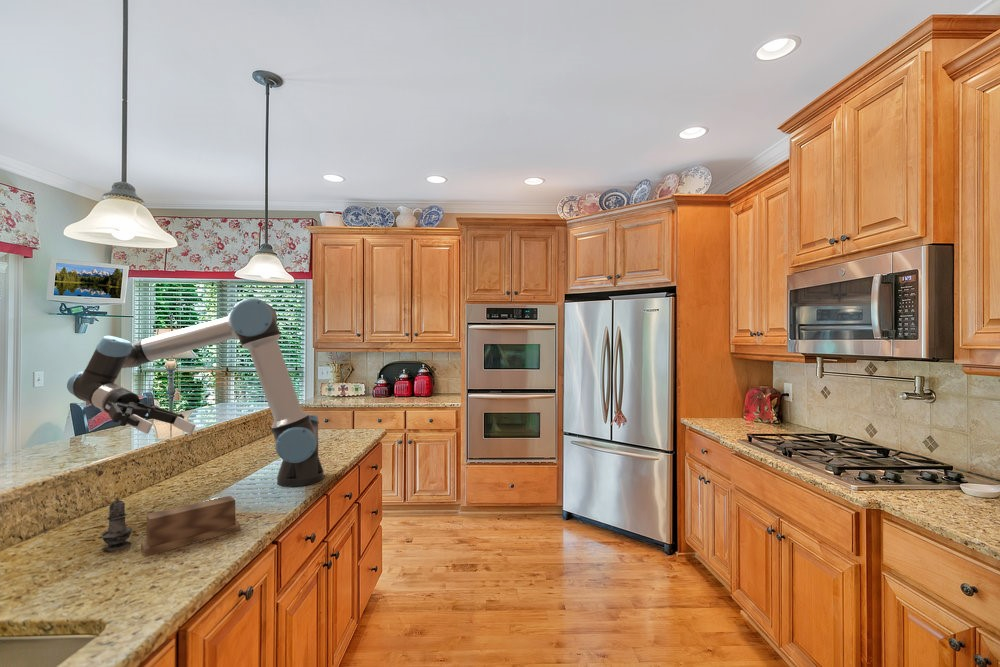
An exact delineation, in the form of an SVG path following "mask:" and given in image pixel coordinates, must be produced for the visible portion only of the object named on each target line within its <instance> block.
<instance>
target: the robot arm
mask: <svg viewBox="0 0 1000 667" xmlns="http://www.w3.org/2000/svg"><path fill="white" fill-rule="evenodd" d="M277 323H278V316H277V312H276V310H275V309H274V308H273V306H271V305H270V304H269V303H266V302H265V301H264V300H262V299H258V298H246V299H242V300H240V301H239V302H236V304H235V305H234V306H233V307H232V309H231V310H230V312H229V314H228V315H227V316H225V317H221V318H216V319H214V320H209V321H206V322H202V323H198V324H196V325H192V326H187V327H184V328H180V329H177V330H173V331H169V332H166V333H161V334H159V335H154V336H150V337H147V338H144V339H138V340H135V341H132V342H131V341H129V340H127V339H125V338H122V337H121V338H120V337H118V336H114V335H105V336H103V337H102V338H101V339H100V341H99V342H98V344H97V345H96V348H95V349H94V352H93V354H92V356H91V358H90V360H89V361H88V363H87V365H86V368H85V369H84V370H82V371H77V372H76V373H74V374H73V376H70V378H69V379H68V380H67V382H66V388H67V391H68V393H70V395H71V394H72V395H73V396H75V398H77V399H79V400H80V401H83V402H85V403H88V404H90V405H91V406H93V407H95V408H97V409H99V410H100V412H102V413H106V414H108V416H109V417H110V419H111V421H112V422H114V423H119V422H120V424H119V425H120V426H122V427H126V425H129V426H130V427H132V428H134V429H136V430H138V431H140V432H142V433H144V434H149V433H150V431H151V429H152V427H153V425H154V423H153V422H151V421H149V420H150V419H151V420H152V419H153V420H156V421H159V422H163V423H166V424H167V423H168V424H170V425H172V426H173V427H175V428H177V429H179V430H181V431H183V432H185V433H187V434H189V435H192V434H193V432H194V430H195V428H196V426H197V424H195V423H193V422H190V421H189V420H186V419H185V417H186V416H185V415H183V414H182V413H176V412H173V411H170V410H168V409H164V408H161V407H159V406H157V405H154V404H150V405H147V404H145V403H143V402H141V400H140V396H139V395H138V394H136V393H135V392H134V391H133V392H132V391H131V390H129V389H127V388H125V387H123V386H120V385H118V384H116V383H115V382H116V380H117V378H118V376H119V374H120V373H121V371H122V369H127V368H132V369H133V368H137V367H139V366H142V365H143V364H148V363H150V362H153V361H154V362H155V361H157V360H162V359H164V358H169V357H172V356H175V355H178V354H179V355H180V354H182V353H186V352H189V351H193V350H197V349H200V348H204V347H207V346H211V345H214V344H218V343H222V342H225V341H229V340H233V339H238V340H239V342H240V344H241V345H240V346H241V347H243V348H245V349H247V350H248V351H249V354H250V356H251V357H250V358H251V360H252V362H253V365H254V369H255V371H256V373H257V376H258V380H259V381H260V382H259V383H260V385H261V387H262V390H263V392H264V396H265V399H266V401H267V404H268V407H269V410H270V412H271V415H272V416H271V417H272V419H273V423H272V424H271V426H270V429H271V431H272V434H273V437H274V440H275V451H276V453H277V455H278V456H279V458H280V459H282V461H281V464H280V468H279V470H278V473H277V476H276V480H277V481H276V484H277V485H279V486H281V487H289V488H290V487H292V488H293V487H294V488H295V487H304V486H309V485H312V484H315V483H316V484H317V483H318V482H320V481H322V480H323V479H324V475H325V474H324V469H323V466H322V463H321V461H320V460H321V459H320V458H319V423H320V422H319V417H318V415H316V414H309V413H308V412H306V411H304V410H302V407H301V405H300V402H299V398H298V396H297V393H296V390H295V388H294V385H293V381H292V378H291V376H290V373H289V370H288V367H287V364H286V362H285V358H284V356H283V354H282V350H281V347H280V345H279V339H280V337H281V332H280V329H279V326H278V324H277Z"/></svg>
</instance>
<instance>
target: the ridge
mask: <svg viewBox="0 0 1000 667" xmlns="http://www.w3.org/2000/svg"><path fill="white" fill-rule="evenodd" d="M204 501H205V502H203V501H201V502H200V501H199V502H196V503H192V504H188V505H183V506H178V507H177V506H176V507H173V508H170V509H169V508H168V509H165V510H160V511H156V512H151V513H147V514H146V540H142V541H140V548H141V549H140V550H141V551H142V553H143V555H144V557H147V556H150V555H154V554H158V553H162V552H165V550H166V551H168V550H169V549H170V550H173V549H176V547H177V548H180V546H181V547H183V545H184V546H187V544H188V545H191V544H190V543H192V544H194V543H193V542H195V543H198V542H197V541H199V542H202V541H201V540H203V541H205V540H204V539H206V540H209V539H208V538H210V539H212V538H211V537H214V538H216V537H215V536H217V537H219V536H218V535H221V536H223V535H222V534H225V535H228V534H227V533H229V534H231V533H230V532H232V533H235V532H234V531H236V532H238V531H237V530H240V531H241V523H240V522H239V521H237V520H236V499H235V498H234V497H233V496H232V495H228V496H223V497H221V498H218V499H214V500H209V501H206V500H204ZM172 548H173V549H172Z"/></svg>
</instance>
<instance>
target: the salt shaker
mask: <svg viewBox="0 0 1000 667" xmlns="http://www.w3.org/2000/svg"><path fill="white" fill-rule="evenodd" d="M125 504H126V503H125V502H124V500H120V498H119V497H118V496H117V497H116V498H115V500H114V501H112V502H111V503H110V504H109V507H108V508H109V511H108V512H109V516H108V517H106V518H107V520H108V529H107V531H105V532H102V534H101V535H100V537H101V538H102V540H103V542H104V544H107V545H106V546H104V547H103V548H102V551H103V552H105V553H112V552H111V551H113V552H117V550H118V551H121V549H122V550H124V549H127V548H129V547H130V546H131V544H132V542H131V541H128V539H130V536H131V534H132V531H133V530H134V529H133V527H131V526H130V527H129V526H127V524H126V517H127V516H128V514H127V513H126V506H125ZM128 546H129V547H128ZM126 547H127V548H126ZM123 548H124V549H123Z"/></svg>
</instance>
